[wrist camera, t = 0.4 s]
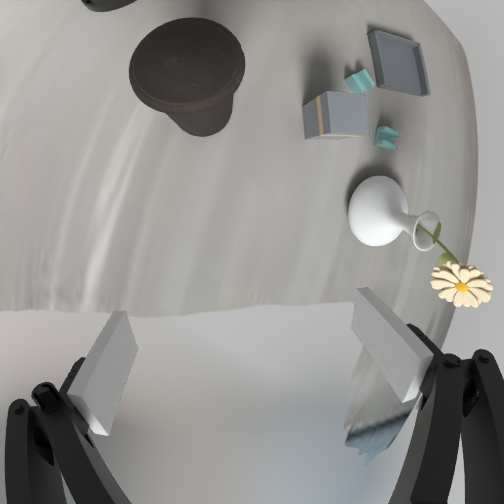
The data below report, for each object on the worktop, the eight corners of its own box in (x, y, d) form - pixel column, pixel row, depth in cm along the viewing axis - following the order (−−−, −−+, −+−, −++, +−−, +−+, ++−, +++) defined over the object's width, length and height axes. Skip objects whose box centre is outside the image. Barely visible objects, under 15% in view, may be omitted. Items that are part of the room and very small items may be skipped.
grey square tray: (367, 33, 30) (373, 29, 28) (412, 46, 31) (419, 43, 29) (377, 86, 34) (384, 84, 32) (422, 96, 35) (430, 94, 32)
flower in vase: (334, 188, 39) (456, 230, 15) (391, 165, 38) (518, 187, 15) (356, 262, 43) (454, 349, 20) (407, 235, 43) (513, 295, 19)
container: (209, 69, 32) (198, -6, 13) (247, 114, 34) (271, 67, 15) (160, 105, 33) (104, 58, 14) (197, 151, 35) (168, 138, 16)
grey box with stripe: (302, 106, 35) (326, 90, 25) (334, 107, 35) (365, 94, 25) (304, 139, 36) (330, 132, 27) (336, 139, 37) (369, 134, 27)
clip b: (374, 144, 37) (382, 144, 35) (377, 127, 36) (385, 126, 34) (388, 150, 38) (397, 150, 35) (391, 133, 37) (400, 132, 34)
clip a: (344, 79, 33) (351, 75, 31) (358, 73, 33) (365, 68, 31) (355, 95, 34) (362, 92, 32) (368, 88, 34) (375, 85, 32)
